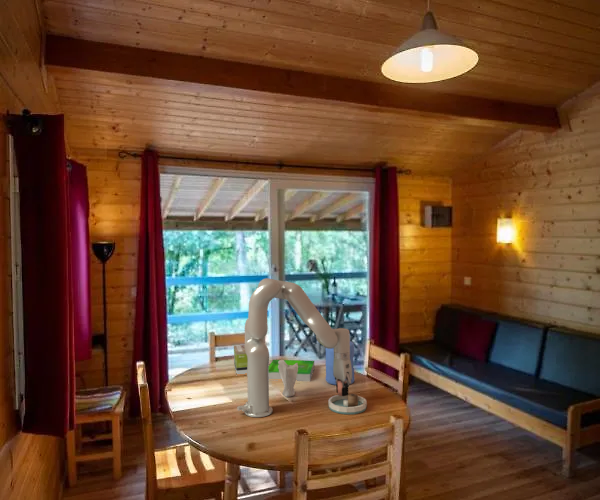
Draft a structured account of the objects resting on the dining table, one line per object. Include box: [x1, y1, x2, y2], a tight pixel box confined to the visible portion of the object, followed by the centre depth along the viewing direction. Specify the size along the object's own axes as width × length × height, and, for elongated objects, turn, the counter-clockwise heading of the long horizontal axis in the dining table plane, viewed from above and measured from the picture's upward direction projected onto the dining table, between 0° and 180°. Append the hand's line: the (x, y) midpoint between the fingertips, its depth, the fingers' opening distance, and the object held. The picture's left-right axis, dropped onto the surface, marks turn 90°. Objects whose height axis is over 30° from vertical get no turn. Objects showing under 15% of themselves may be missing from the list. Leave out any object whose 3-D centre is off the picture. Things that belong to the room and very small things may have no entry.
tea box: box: [233, 344, 248, 374], centre depth 263 cm, size 15×10×15 cm, turn 14°
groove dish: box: [327, 394, 368, 416], centre depth 208 cm, size 17×17×3 cm
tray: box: [269, 359, 315, 382], centre depth 260 cm, size 25×25×5 cm
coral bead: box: [337, 381, 346, 396], centre depth 212 cm, size 4×4×6 cm
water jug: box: [324, 340, 355, 386], centre depth 245 cm, size 16×16×28 cm
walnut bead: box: [348, 393, 359, 407], centre depth 204 cm, size 4×4×6 cm
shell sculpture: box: [278, 359, 298, 398], centre depth 224 cm, size 8×8×18 cm
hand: (342, 393), depth 212 cm, fingers closed on coral bead, 4 cm apart
